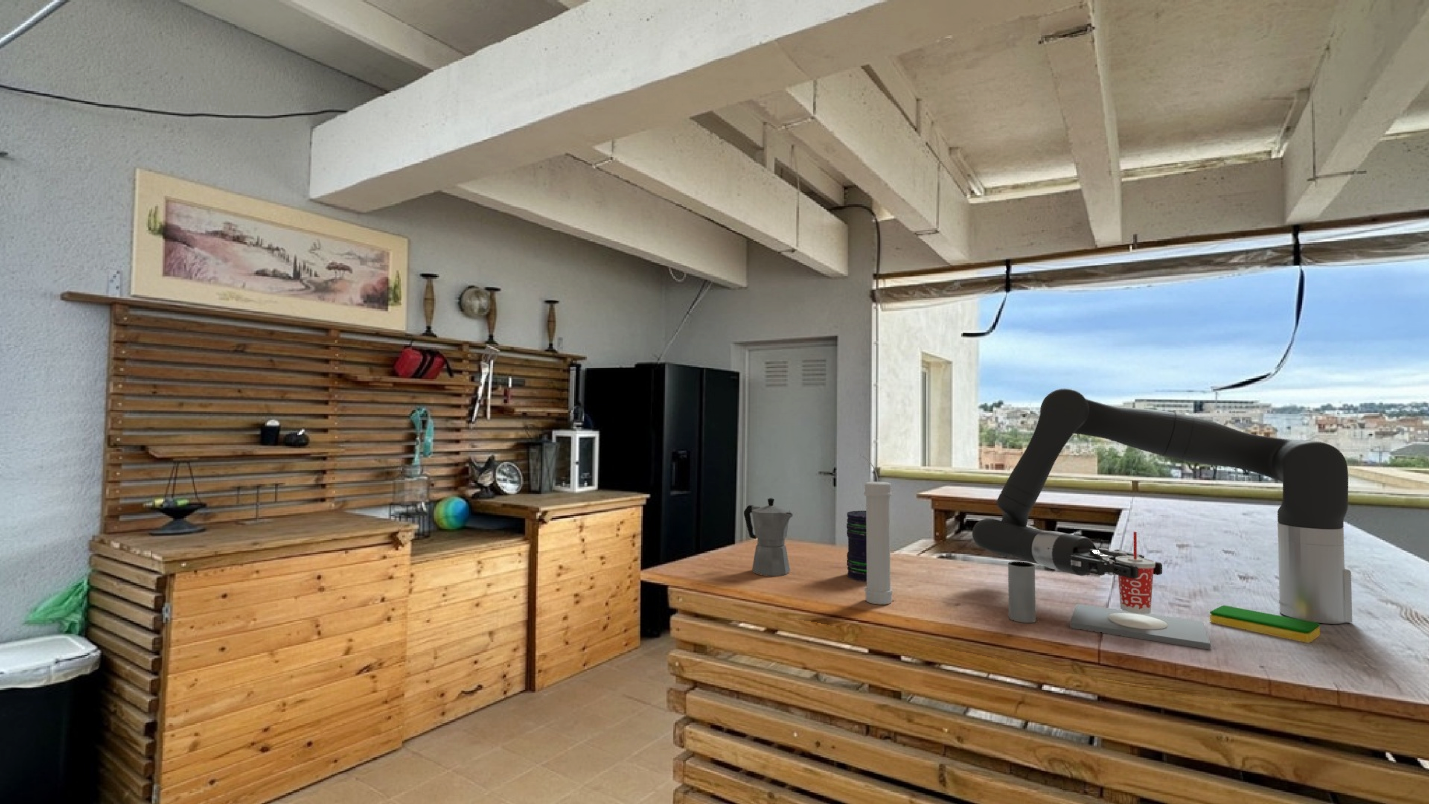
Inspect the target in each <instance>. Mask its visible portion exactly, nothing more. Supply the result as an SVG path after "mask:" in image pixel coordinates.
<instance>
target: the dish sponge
mask: <svg viewBox="0 0 1429 804" xmlns="http://www.w3.org/2000/svg"><path fill="white" fill-rule="evenodd" d="M1209 619H1210V620H1209V622H1210V621H1211V622H1210V623H1213V624H1217V623H1219V624H1218V625H1221V624H1222V626H1227V627H1231V626H1232V628H1236V629H1242V630H1245V629H1246V630H1247V631H1250V632H1256V633H1259V634H1260V633H1261V634H1265V635H1270V636H1274V635H1275V637H1278V636H1279V638H1283V639H1284V638H1285V639H1288V638H1290V639H1289V640H1293V641H1297V642H1302V643H1312V642H1313V641H1314V640H1316V639H1317V638H1318V637H1319V636H1321V627H1320V625H1321V623H1318V622H1311V621H1305V620H1300V619H1296V618H1292V617H1289V616H1285V615H1284V616H1283V615H1277V614H1271V613H1267V612H1262V611H1261V612H1260V611H1256V610H1251V609H1246V608H1240V607H1235V606H1229V605H1221V606H1218V607H1217V608H1214V609H1212V610H1210V611H1209ZM1246 630H1245V631H1246Z"/></svg>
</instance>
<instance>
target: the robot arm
mask: <svg viewBox="0 0 1429 804" xmlns="http://www.w3.org/2000/svg"><path fill="white" fill-rule="evenodd" d="M1039 412H1040V413H1039V417H1038V420H1037V424H1036V426H1035V429H1034V432H1033V434H1032V436H1031V439H1030V441H1029V442H1028V445H1027V447H1026V449H1025V450H1024V452H1023V453H1022V455H1021V457H1020V458H1019V460H1018V461H1017V463H1016V465H1015V466H1014V468H1013V470H1012V471H1011V473H1010V475H1009V476H1008V477H1007V480H1006V481H1005V483H1004V486H1003V488H1002V490H1001V491H1000V494H999V496H998V497H997V500H996V506H997V508H998V509H1000V511H1002V519H1001V520H999V519H996V518H984V519H981V520H978V521H977V522H976V523H975V524H974V526H973V527H972V532H971V533H972V534H971V535H972V539H973V542H974V543H975V545H977V546H978V547H979V548H981V549H983V550H985V551H987V552H990V553H992V554H995V555H997V556H1001V557H1003V558H1004V557H1011V556H1013V557H1015V558H1016V559H1017V558H1018V559H1020V560H1023V561H1024V562H1028V563H1032V564H1036V565H1041V566H1044V567H1045V568H1048V569H1052V570H1056V571H1059V572H1060V571H1061V572H1064V573H1068V574H1071V575H1076V576H1081V577H1082V576H1087V575H1089V574H1094V575H1099V576H1102V577H1103V576H1105V575H1108V576H1118V575H1119V576H1123V577H1128V578H1132V579H1136V578H1138V567H1137V566H1134V565H1130V564H1125V563H1120V562H1116V557H1118V556H1131V557H1134V552H1129V551H1125V550H1122V549H1118V548H1117V549H1114V550H1110V549H1109V548H1104V547H1103V548H1102V547H1099V548H1098V549H1097V547H1096V545H1095V543H1094V541H1093V540H1092V539H1090V538H1088V537H1087V536H1082V535H1077V534H1070V533H1066V532H1060V531H1052V530H1043V529H1039V528H1034V527H1033V528H1032V527H1027V525H1028V521H1029V515H1030V513H1031V512H1032V510H1033V508H1034V505H1035V504H1036V502H1037V500H1038V498H1039V496H1040V495H1041V492H1042V491H1043V488H1044V487H1045V484H1046V482H1047V480H1048V477H1049V476H1050V473H1051V471H1052V470H1053V467H1054V465H1055V462H1056V461H1057V459H1058V458H1059V455H1060V454H1061V452H1062V451H1063V449H1064V447H1065V446H1066V444H1067V443H1068V441H1069V440H1070V439H1071V438H1072V437H1073V435H1074V434H1075V435H1076V434H1077V435H1082V436H1088V437H1089V436H1090V437H1095V438H1096V437H1097V438H1100V439H1105V440H1109V441H1113V442H1116V443H1119V444H1122V445H1124V446H1128V447H1131V448H1134V449H1137V450H1140V451H1142V452H1143V451H1144V452H1147V453H1152V454H1154V455H1158V456H1163V457H1167V458H1171V459H1175V460H1179V461H1183V462H1190V463H1195V464H1202V465H1211V466H1220V467H1227V468H1236V469H1239V470H1244V471H1247V472H1251V473H1255V474H1258V475H1261V476H1263V477H1267V478H1270V479H1274V480H1277V481H1279V482H1282V501H1281V504H1280V506H1279V508H1278V509H1277V549H1278V550H1277V552H1278V553H1277V554H1278V556H1277V557H1278V593H1279V594H1278V595H1279V600H1278V601H1279V602H1278V604H1279V613H1280V614H1282V615H1284V616H1285V617H1289V618H1294V619H1300V620H1305V621H1310V622H1316V623H1319V624H1321V623H1322V624H1330V625H1331V624H1333V625H1337V624H1339V625H1340V624H1345V623H1351V624H1352V623H1353V597H1352V593H1353V592H1352V571H1351V570H1350V569H1348V568H1346V567H1345V565H1346V564H1345V537H1344V536H1345V534H1344V530H1345V529H1344V527H1345V526H1344V522H1345V521H1344V520H1345V517H1346V515H1347V513H1348V507H1349V506H1348V504H1349V468H1348V464H1347V463H1348V462H1347V460H1346V457H1345V456H1344V454H1343V453H1342V452H1341V451H1340V450H1339V448H1337V447H1335V446H1333V445H1331V444H1329V443H1326V442H1322V441H1315V440H1305V439H1289V438H1282V437H1281V438H1279V437H1271V436H1265V435H1260V434H1259V435H1258V434H1253V433H1248V432H1245V431H1241V430H1238V429H1236V428H1232V427H1229V426H1227V425H1224V424H1221V423H1218V422H1216V421H1211V420H1208V419H1204V418H1202V417H1197V416H1192V415H1189V414H1183V413H1178V412H1173V411H1166V410H1160V409H1151V408H1141V407H1123V406H1115V405H1110V404H1106V403H1101V402H1099V401H1095V400H1091V399H1088V398H1085V396H1084V395H1083V394H1082V393H1080V392H1079V391H1077V390H1076V389H1072V388H1059V389H1056V390H1053V391H1051V392H1050V393H1049V394H1047V395H1046V396H1045V397H1044V398H1043V400H1042V402H1041V405H1040V410H1039ZM1137 557H1140V558H1145V555H1143V554H1138V553H1137ZM1155 563H1156V564H1155V568H1154V570H1153V575H1155V576H1160V575H1162V574H1163V563H1162V562H1159V561H1155Z"/></svg>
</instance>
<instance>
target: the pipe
mask: <svg viewBox="0 0 1429 804" xmlns="http://www.w3.org/2000/svg"><path fill="white" fill-rule="evenodd" d="M860 457H862V458H863V459H865V460H866V461H868V463H869V464H870V465H871V466H872V469H873V470H874V472H875V476H876V481H867V482H865V483H864V493H863V495H864V496H866V497H865V498H866V500H865V501H866V503H865V505H866V508H865V509H866V510H865V511H866V534H867V582H866V586H865V587H864V592H865V601H866V602H867V603H869V604H873V605H881V606H882V605H884V606H885V605H888V604H889V605H890V604H891V603H892V602H893V588H892V587H891V497H892V496H893V493H892V484H891V482H887V481H879V478H878V473H877V471H876V468H875V466H874V464H873V463H872V462H871V461H870V460H869V459H868V458H866V457H865V456H864V455H862V454H860Z"/></svg>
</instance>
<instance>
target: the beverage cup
mask: <svg viewBox="0 0 1429 804" xmlns="http://www.w3.org/2000/svg"><path fill="white" fill-rule="evenodd" d="M1137 537H1138V534H1137V531H1133V553H1134V557H1131V556H1118V557H1116V562H1120V563H1125V564H1130V565H1134V566H1137V567H1138V578H1136V579H1132V578H1128V577H1123V576H1119V575H1117V576H1118V577H1117V578H1118V591H1119V594H1118V595H1119V603H1120V605H1119V607H1120V610H1124V611H1127V612H1131V613H1137V614H1152V612H1151V610H1152V597H1153V583H1154V574H1153V570H1154V568H1155V564H1156V563H1155V562H1156V561H1155V560H1153V559H1150V558H1145V557H1144V558H1140V557H1137V554H1138V551H1137V549H1138V548H1137V547H1138V545H1137V544H1138V543H1137V542H1138V540H1137Z"/></svg>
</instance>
